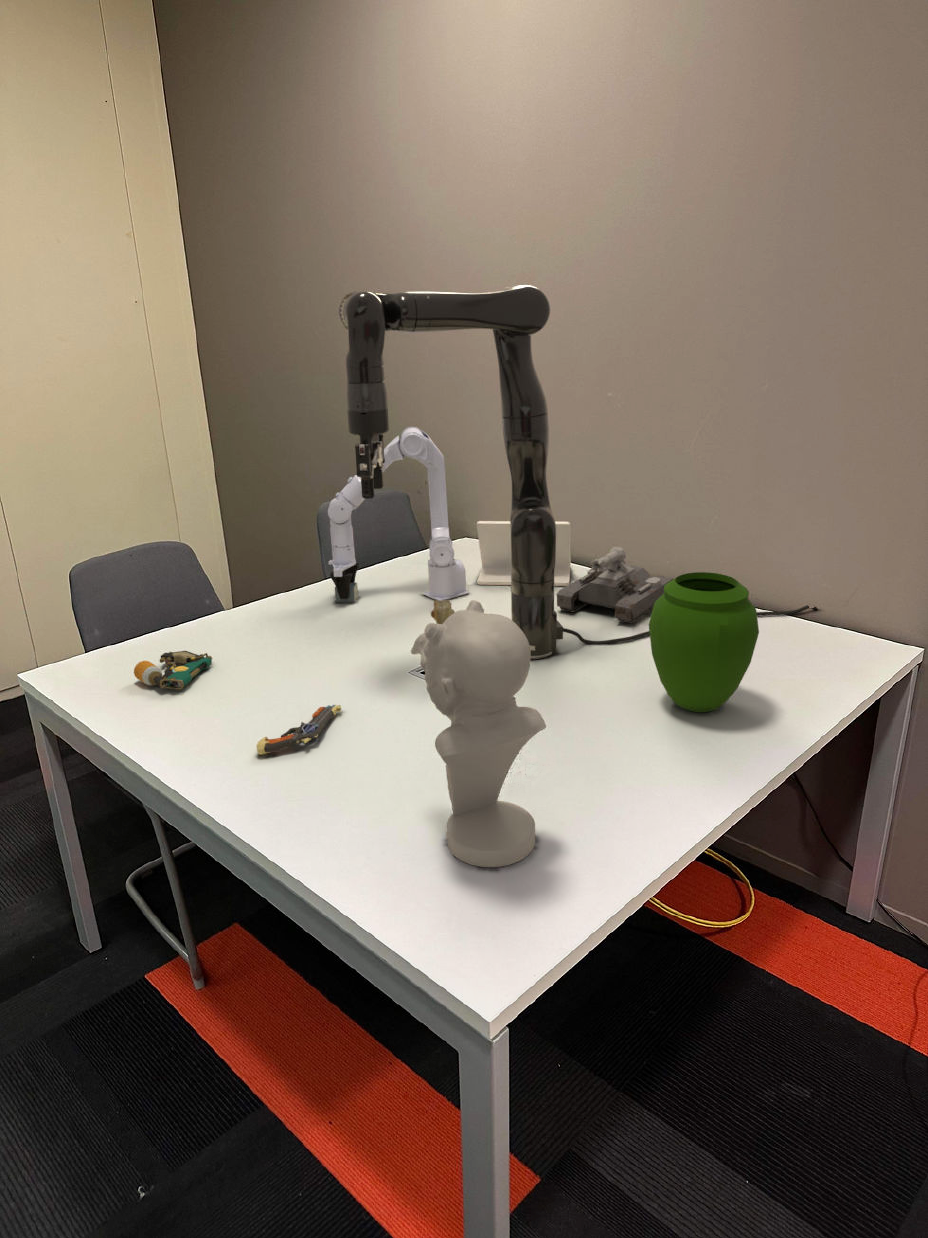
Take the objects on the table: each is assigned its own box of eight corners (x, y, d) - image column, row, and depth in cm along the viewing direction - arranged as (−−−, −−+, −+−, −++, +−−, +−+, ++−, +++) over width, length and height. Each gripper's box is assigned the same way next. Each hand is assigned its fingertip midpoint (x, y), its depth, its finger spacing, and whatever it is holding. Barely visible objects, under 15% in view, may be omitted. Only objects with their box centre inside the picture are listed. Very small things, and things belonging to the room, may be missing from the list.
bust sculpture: (481, 772, 140) (476, 569, 128) (565, 848, 120) (569, 617, 108) (392, 800, 134) (378, 588, 121) (465, 886, 114) (457, 642, 101)
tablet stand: (569, 585, 229) (570, 524, 223) (476, 584, 232) (475, 523, 226) (570, 566, 246) (571, 508, 240) (484, 564, 249) (483, 507, 243)
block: (339, 597, 226) (338, 582, 225) (358, 597, 226) (357, 582, 224) (335, 602, 222) (334, 587, 221) (354, 602, 222) (353, 587, 220)
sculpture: (458, 662, 183) (456, 596, 178) (460, 676, 176) (457, 608, 171) (431, 663, 183) (428, 597, 177) (431, 677, 176) (428, 609, 171)
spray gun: (177, 659, 191) (231, 671, 185) (120, 684, 176) (176, 698, 171) (176, 641, 190) (230, 653, 184) (118, 665, 175) (174, 678, 169)
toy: (603, 584, 229) (605, 530, 224) (673, 597, 218) (677, 540, 213) (555, 612, 210) (556, 553, 205) (630, 627, 199) (633, 566, 194)
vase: (763, 694, 164) (775, 574, 156) (734, 737, 149) (746, 606, 140) (665, 674, 174) (672, 560, 166) (628, 712, 159) (634, 588, 150)
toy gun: (251, 744, 146) (305, 742, 144) (292, 702, 164) (341, 700, 162) (254, 759, 147) (308, 756, 145) (295, 715, 165) (344, 713, 163)
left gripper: (334, 537, 226) (338, 585, 231) (320, 552, 212) (324, 603, 217) (360, 537, 225) (364, 586, 230) (347, 552, 212) (351, 604, 216)
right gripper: (355, 402, 165) (361, 485, 171) (338, 412, 152) (345, 501, 157) (394, 401, 164) (398, 485, 170) (379, 411, 151) (385, 501, 157)
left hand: (346, 594), depth 223 cm, fingers open, 5 cm apart
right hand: (373, 493), depth 164 cm, fingers open, 8 cm apart
